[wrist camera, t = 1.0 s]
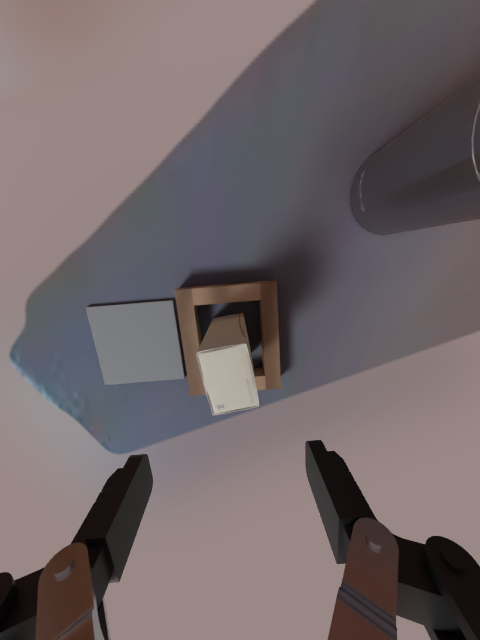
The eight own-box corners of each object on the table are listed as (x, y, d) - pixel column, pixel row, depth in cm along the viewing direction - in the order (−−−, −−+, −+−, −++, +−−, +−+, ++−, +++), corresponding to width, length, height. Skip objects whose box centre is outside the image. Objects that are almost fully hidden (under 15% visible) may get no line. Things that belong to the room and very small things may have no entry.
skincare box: (251, 353, 32) (262, 409, 20) (220, 360, 32) (212, 418, 20) (242, 310, 30) (249, 342, 18) (209, 316, 30) (194, 353, 18)
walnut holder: (273, 280, 29) (276, 281, 27) (277, 378, 33) (280, 388, 30) (179, 287, 29) (174, 290, 27) (193, 385, 32) (190, 395, 30)
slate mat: (173, 300, 29) (172, 300, 29) (185, 377, 32) (184, 378, 32) (87, 306, 29) (85, 307, 29) (106, 383, 32) (105, 385, 32)
